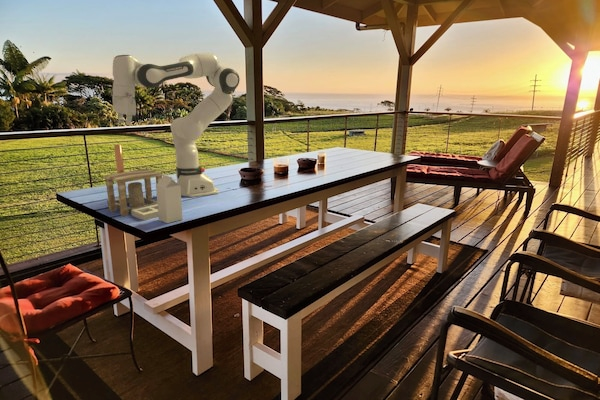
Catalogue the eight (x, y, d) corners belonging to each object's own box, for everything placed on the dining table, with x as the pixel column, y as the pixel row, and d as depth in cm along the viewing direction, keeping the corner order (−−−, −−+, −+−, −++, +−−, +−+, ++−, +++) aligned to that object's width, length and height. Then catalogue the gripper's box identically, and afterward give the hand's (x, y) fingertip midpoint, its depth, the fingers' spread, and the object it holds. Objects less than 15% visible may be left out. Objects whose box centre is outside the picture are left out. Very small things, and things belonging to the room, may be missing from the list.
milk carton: (167, 223, 158) (163, 178, 153) (158, 219, 163) (154, 175, 158) (182, 219, 164) (179, 175, 158) (173, 216, 168) (170, 173, 163)
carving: (139, 205, 182) (137, 180, 179) (148, 208, 177) (145, 183, 174) (126, 208, 177) (124, 183, 174) (135, 211, 173) (132, 185, 169)
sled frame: (159, 207, 179) (154, 147, 171) (130, 214, 168) (123, 151, 160) (136, 199, 191) (130, 143, 183) (107, 205, 180) (100, 146, 172)
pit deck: (173, 212, 172) (173, 207, 172) (144, 220, 162) (143, 214, 161) (160, 208, 178) (160, 203, 178) (131, 215, 168) (131, 210, 167)
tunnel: (165, 206, 181) (162, 172, 177) (123, 216, 166) (119, 179, 161) (149, 201, 189) (146, 168, 184) (109, 210, 174) (104, 175, 169)
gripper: (139, 94, 167) (140, 126, 171) (124, 92, 182) (124, 122, 185) (124, 92, 163) (125, 126, 167) (109, 91, 178) (110, 121, 181)
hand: (124, 124), depth 176 cm, fingers open, 8 cm apart
